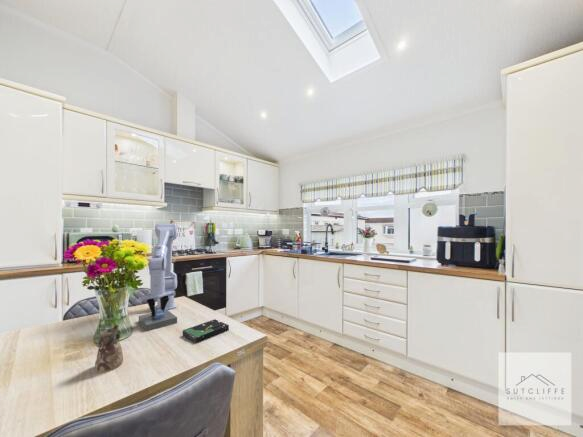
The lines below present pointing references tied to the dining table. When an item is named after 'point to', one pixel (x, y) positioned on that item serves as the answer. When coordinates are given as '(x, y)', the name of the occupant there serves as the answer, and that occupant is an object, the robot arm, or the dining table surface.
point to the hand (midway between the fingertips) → (157, 314)
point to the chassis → (157, 320)
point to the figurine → (108, 351)
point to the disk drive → (205, 331)
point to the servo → (158, 314)
